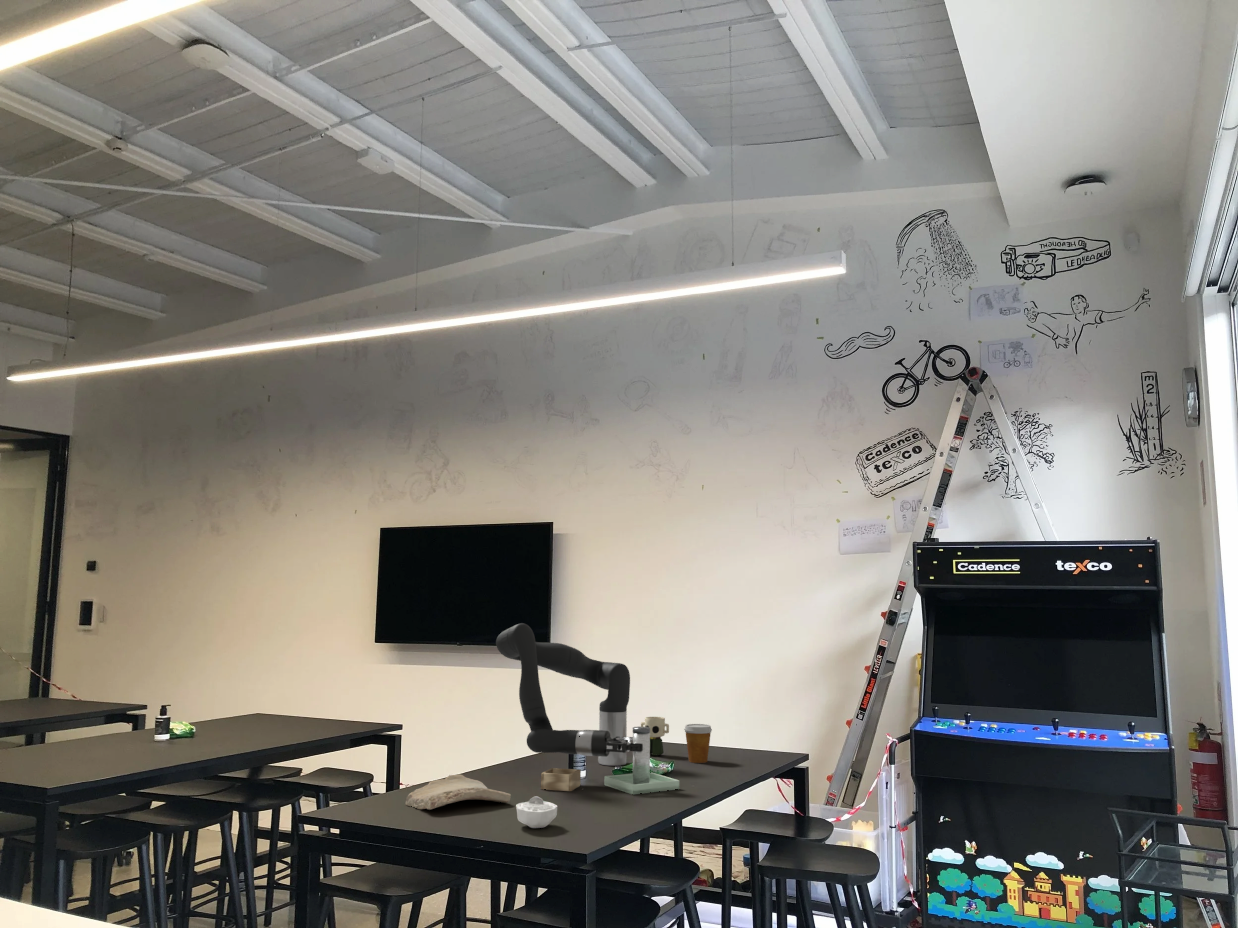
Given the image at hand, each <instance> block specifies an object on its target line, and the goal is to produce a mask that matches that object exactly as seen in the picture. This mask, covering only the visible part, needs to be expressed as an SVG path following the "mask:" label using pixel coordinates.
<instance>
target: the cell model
mask: <svg viewBox="0 0 1238 928" xmlns="http://www.w3.org/2000/svg"><path fill="white" fill-rule="evenodd" d="M515 808H516V817H517V821H518V822H520V823H522V825H523V824H524V825H526V826H528V827H529V828H531V829H540V828H541V829H542V828H545V827H547V826H548V825H550V824H551V823H552V821H553V820H554V819H556V817H557V816H558V815H557V814H558V805H557V804H555V803H553V802H549V801H545V800H543V798H542V797H539V796H537V795H536V796H535V795H534V796H533V797H531V798H530V799H529V800H528V801H525V802H524V801H522V802H519V803H517V804H516V805H515Z"/></svg>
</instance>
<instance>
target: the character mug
mask: <svg viewBox="0 0 1238 928" xmlns="http://www.w3.org/2000/svg"><path fill="white" fill-rule="evenodd" d="M665 720H666V717H662V716H646V717H645V718H644V721H641V722H640V727H650V756H658V757H659V756H660V755H663V754H664V751H665V750H664V744H663V743H664V742H663V739H662V738H661V737H664V736H665V735H666V734H669V732H670V725H669V723H666V721H665Z"/></svg>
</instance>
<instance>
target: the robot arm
mask: <svg viewBox="0 0 1238 928" xmlns="http://www.w3.org/2000/svg"><path fill="white" fill-rule="evenodd" d="M495 645H496V648H497V650H498V652H499V653H500V654H501V655H502V656H503V657H505V658H508V659H511V660H515V661H520V666H521V668H520V669H521V671H520V672H521V673H520V682H519V688H518V695H519V702H520V703H519V704H520V707H521V711H522V712H521V713H522V716H523V719H524V721H525V722H526V723H527V724H528V726H529V729H530V732H528V734H527V737H526V745H527V747H528V750H529V749H530V750H531V751H532V752H534V753H538V754H539V753H541V754H543V753H544V754H545V753H546V754H547V753H548V754H549V753H550V754H551V753H553V754H554V753H555V754H556V753H559V754H560V753H561V754H566V755H579V756H585V757H597V762H598V764H599V765H603V766H624V765H626V764H627V753H629V752H633V751H640V752H641V751H643V744H642V743H633V736H627V734H628V733H627V731H628V730H627V722H628V721H627V718H628V716H627V715H628V713H627V712H628V711H627V709H628V708H627V707H628V705H629V701H630V690H631V689H630V687H631V675H630V670H629V668H628V666H627V665H625V664H624V663H620V662H609V661H601V660H597V659H592V658H591V657H588V656H586V654H584V652H582V651H581V650H579V649H577V648H575V647H572V646H570V645H567V644H563V643H558V642H538V641H536V638H535V634H534V631H533V629H532V628H531V627H530V626H529V625H528V624H526V623H523V622H521V623H518V624H515V625H513V626H511V627H509V628H506V629H505V630H502V631H501V633H500V634H498V636H497V637H496V640H495ZM539 667H541V668H544V669H548V670H551V671H553V672H555V673H559V674H561V675H564V676H568V677H571V678H575V679H581V680H583V681H587V682H589V683H591V684H592V685H595V686H596V687H599V688H601V689H603V690H605V691H606V690H607V697H606V698H605V700H602V701H600V703H599V710H598V711H599V713H598V715H599V717H598V718H599V723H598V724H599V728H598V730H597V729H582V730H580V729H578V730H577V729H562V730H558V729H554V728H553V726H552V724H551V721H550V719H549V717H548V714H547V710H546V707H545V703H544V698H543V695H542V691H541V690H542V689H541V685H540V684H541V683H540V678H539ZM579 736H580V737H579Z"/></svg>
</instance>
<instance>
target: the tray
mask: <svg viewBox="0 0 1238 928" xmlns="http://www.w3.org/2000/svg"><path fill="white" fill-rule="evenodd" d="M650 772H651V773H650V783H643V784H633V773H623V774H616V775H605V776H604V786H606V787H609V788H612V789H615V790H618V791H620V792H621V791H622V792H623V793H624V792H625V793H627V794H630V795H632V794H633V795H641V794H640V793H642V794H651V793H657V792H658V793H659V791H660V792H667V790H669V791H675V789H678V790H680V780H678V779H676V778H673V777H672V778H671V777H668V776H665V775H661V774H659V773H655V772H653V771H650ZM650 792H651V793H650Z"/></svg>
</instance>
